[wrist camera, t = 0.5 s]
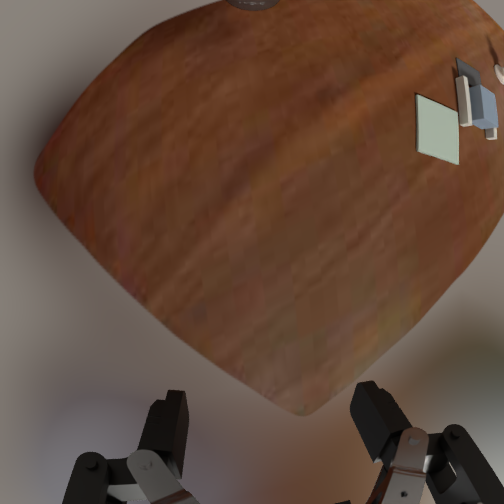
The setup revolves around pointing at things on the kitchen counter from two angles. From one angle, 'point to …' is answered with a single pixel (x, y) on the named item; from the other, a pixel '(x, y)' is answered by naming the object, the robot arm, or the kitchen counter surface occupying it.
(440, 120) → the tile
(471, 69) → the channel
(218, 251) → the kitchen counter surface
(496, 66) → the white ringed tapered column
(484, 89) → the block
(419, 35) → the kitchen counter surface
